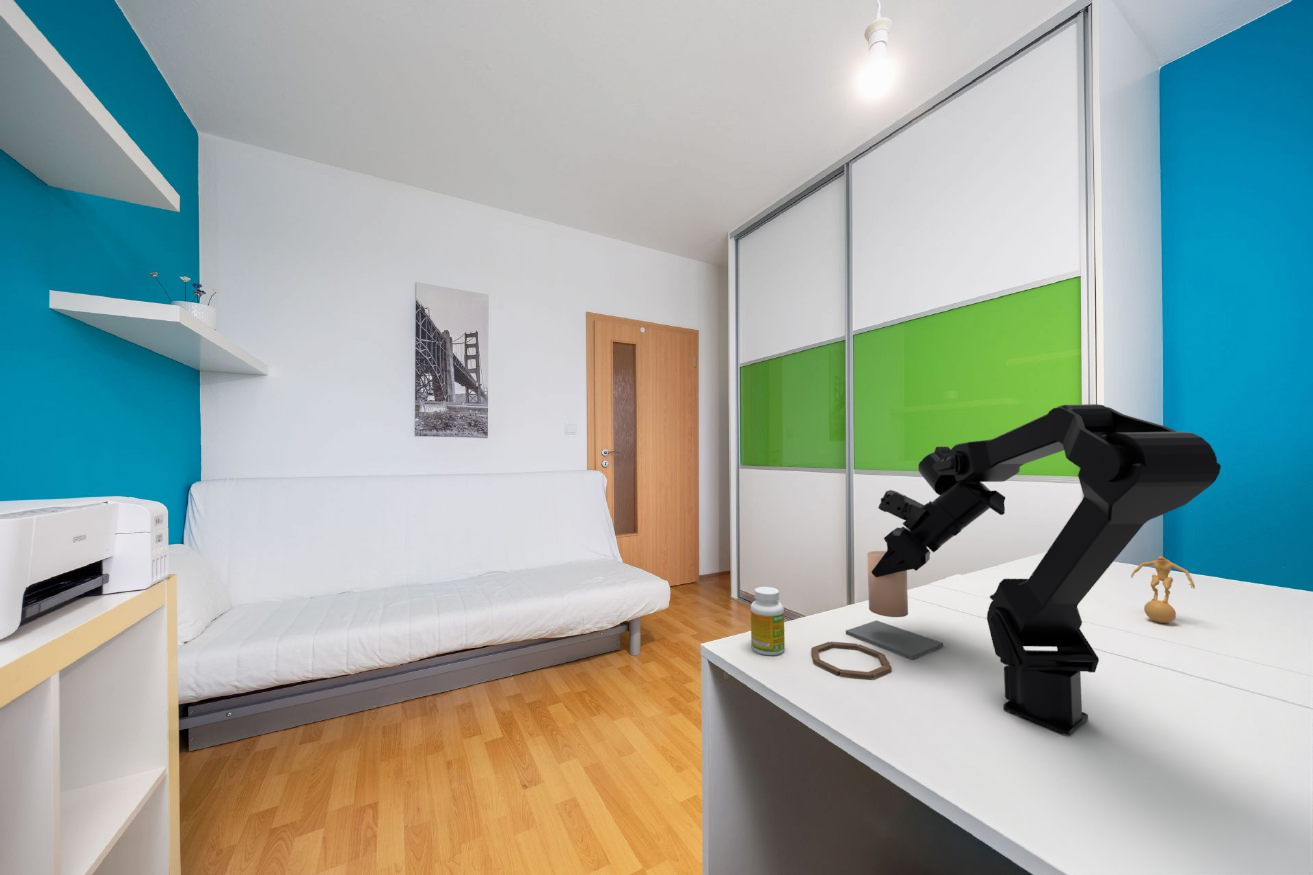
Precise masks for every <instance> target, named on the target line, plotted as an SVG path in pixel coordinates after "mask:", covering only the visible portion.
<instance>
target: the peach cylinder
mask: <svg viewBox="0 0 1313 875" xmlns="http://www.w3.org/2000/svg"><path fill="white" fill-rule="evenodd" d="M886 551H887V550H886ZM886 551H884V550H875V551H869V552H867V556H866V558H867V582H868V583H867V588H868V590H867V591H868V610H869V611H870V612H871V613H873V614H875V615H878V616H883V617H888V618H903V617H907V616H908V615H909V602H908V600H909V599H908V598H909V596H908V595H909V594H908V570H906V571H901V572H897V573H893V574H888V575H884V576H880V577H875V576H874V575H873V574H872V573H871V572H872V570H873V569H874V568H875V566H876V565H877V564H878V562H879V561H880V560H881V558H882V557H883V556H884V554H885V553H886Z"/></svg>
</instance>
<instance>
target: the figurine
mask: <svg viewBox="0 0 1313 875" xmlns="http://www.w3.org/2000/svg"><path fill="white" fill-rule="evenodd" d="M1146 566H1154V569H1155V571H1156V573H1157V575H1156V574H1155V573H1154V574H1152V575H1151V582H1150V587H1151V589H1152V591H1153V592H1154V595H1153V597H1152V598H1151V600H1149V601H1147V602H1146V603H1145V605H1144V607H1143V609H1144V613H1145V615H1146V616H1147V617H1148V618H1149V619H1151V620H1152V621H1154V622H1157V623H1160V624H1168V623H1171V622H1173V621H1174V620H1175V619H1176V616H1177V612H1176V610H1175V608H1174V607H1173V606H1172V605H1171V604H1170V603H1169V598H1170V594H1171V591H1170V589H1171V588H1172V583H1173V581H1174V578H1173V577H1172V576H1169V575H1170V573H1171V571H1172V569H1176V570H1178V571H1180V572H1182V573H1185V576H1186V577H1187V580H1188V581H1189V582H1190V583H1189V584H1188V585H1189V586H1190V585H1191V586H1190V588H1191V589H1195V588H1196V587H1195V586H1196V585H1195V583H1194V580H1193V578H1192V576H1191V573H1190V572H1189V571H1188V570H1187V569H1185V568H1183V567H1181V566H1179V565H1178V564H1176V563H1174V562H1171V561H1170V560H1169V559H1166V558H1165V557H1164V556H1162V555H1160V556H1158V557H1157V559H1155V560H1151V561H1145V562H1142V563H1140V564H1139V565H1138V566H1137V567H1136V568H1135V569H1134V570H1133V572H1132V573H1131V576H1130V578H1131V579H1132V578H1134V576H1135V574H1137V572H1139V571H1140V570H1141V569H1142V568H1143V567H1146ZM1160 582H1162V586H1164V593H1165V595H1164V598H1163V600H1159V599H1158V596H1159V590H1158V588H1157V587H1156V586H1158V585H1160Z"/></svg>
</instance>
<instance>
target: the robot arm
mask: <svg viewBox="0 0 1313 875" xmlns="http://www.w3.org/2000/svg"><path fill="white" fill-rule="evenodd" d="M1063 451H1064V455H1065V458H1066V459H1067V460H1068V461H1070V462H1071V463H1073V464H1074V465H1075V466H1077V467H1078V468H1079V472H1078V474H1077V476H1078V480H1079V484H1080V487H1081V492H1082V494H1083V498H1082V500H1081V501H1080V503H1079V504H1078V506H1077V507H1076V509H1075V510H1074V511H1073V513H1072V514H1071V516H1070V517H1069V518H1068V520H1067V522H1066V523H1065V525H1064V526H1063V527H1062V529H1061V530H1060V532H1059V533H1058V535H1057V536H1056V537H1055V539H1054V541H1053V542H1052V544H1051V545H1050V547H1049V548H1048V550H1047V551H1046V553H1044V556H1043V557H1042V558H1041V560H1040V562H1039V563H1038V564H1037V566H1036V567H1035V569H1034V570H1033V572H1032V574H1031V575H1030V576H1029V578H1003V579H1002V580H1001V581H999V583H998V585H997V587H996V588H997V589H996V591H995V592H994V593H993V594H991V595H989V599H991V600H992V601H991V602H990V604H989V606H988V610H987V613H986V621H987V625H988V628H989V633H990V637H991V641H992V646H993V649H994V653H995V655H996V656H997V657H998V658H999V660H1000V663H1001V664H1003V665H1006V666H1004V667H1003V679H1004V680H1003V681H1004V685H1003V686H1004V698H1005V699H1006V700H1007V702H1005V703H1003V705H1002V707H1003V709H1004V711H1006V712H1009V713H1012V714H1015V715H1017V716H1019V717H1022V718H1024V719H1027V720H1029V721H1032V722H1034V723H1036V724H1038V725H1041V726H1044V727H1046V728H1048V729H1050V730H1053V731H1056V732H1058V733H1060V734H1064V735H1067V736H1068V735H1071V734H1072V733H1073V732H1075V731H1076V730H1077V729H1078V728H1079V727H1081V726H1082V725H1083V724H1084V723H1085V722H1087V721H1088V720H1089V714H1087V713H1086V712H1083V706H1082V705H1083V704H1082V682H1081V680H1082V676H1081V672H1087V673H1096V671H1097V667H1098V664H1099V661H1100V660H1099V659H1100V658H1099V656H1098V655H1097V653H1096V652H1095V650H1094V649H1093V647H1092V645H1091V644H1090V643H1089V641H1088V639H1087V637H1085V634H1084V633H1083V631H1082V630H1081V627H1082V624H1083V621H1082V618H1081V615H1080V611H1079V608H1078V606H1079V604H1080V603H1081V602H1082V600H1083V599H1084V597H1086V595H1088V593H1089V592H1090V590H1091V589H1092V588H1093V587H1094V586H1095V584H1096V583H1097V582H1098V581H1099V580H1100V579H1101V578H1102V576H1103V575H1104V574H1105V573H1106V571H1107V570H1108V569H1109V567H1110V566H1111V565H1112V564H1113V563H1114V561H1115V560H1116V559H1117V558H1118V556H1119V555H1120V554H1121V553H1122V551H1123V550H1125V548H1126V547H1127V546H1128V545H1129V543H1130V542H1131V541H1132V540H1133V539H1134V537H1135V536H1136V535H1137V533H1139V531H1140V530H1141V529H1142V527H1143V526H1144V525H1145V524H1146V523H1147V522H1148V521H1151V520H1153V519H1156V518H1158V517H1160V516H1162V515H1165V514H1167V513H1169V512H1172V511H1174V510H1177V509H1179V508H1181V507H1183V506H1186V505H1188V504H1189V503H1190V502H1191V501H1192V500H1194V499H1195V498H1197V496H1199V495H1200V494H1202V493H1203V492H1204V491H1205V490H1207V489H1208V488H1209V487H1210V486H1212V485H1213V484H1214V483H1215V482H1216V480H1217V478H1218V477H1219V475H1220V473H1221V468H1222V465H1221V464H1220V463H1219V462H1218V457H1217V456H1216V452H1215V451H1214V449H1213V447H1212V445H1211V444H1210V443H1209V442H1208V441H1206V440H1205V438H1203V437H1201V436H1200V435H1198V434H1195V433H1193V432H1187V431H1177V430H1174V429H1172V428H1170V427H1168V426H1165V425H1161V424H1158V423H1155V422H1151V421H1148V420H1144V419H1141V418H1137V417H1135V416H1134V417H1133V416H1131V415H1128V414H1127V415H1126V414H1124V413H1121V412H1120V411H1117V410H1115V409H1113V408H1111V407H1110V406H1105V405H1103V404H1099V403H1097V404H1095V403H1093V404H1089V403H1088V404H1063V405H1059V406H1057V407H1053V408H1051V409H1050V410H1049V411H1048V412H1047V413H1046V414H1044V415H1042V416H1040V417H1038V418H1035V419H1033V420H1031V421H1029V422H1027V423H1025V424H1023V425H1020V426H1018V427H1016V428H1014V429H1011V430H1009V431H1007V432H1005V433H1002V434H1000V435H998V436H996V437H994V438H991V439H986V440H975V441H966V442H962V443H957V444H954V445H953V446H952V448H950V447H949V446H936V447H935V449H934V452H931V453H928V454H927V455H926V456H924V457H923V458H922V460H921V461H920V462H918V472H919V474H920V475H921V476H922V477H923V479H924V480H925V481H926V484H928V485H929V486H930V487H931V489H932V490H933V491H934V492H935V494H936V495H938V496H937V497H936V498H935V499H933V501H931V500H930V501H929V502H927V503H925V504H923V503H920V502H919V501H917V500H916V499H913V498H911V497H909V496H907V495H904V494H902V493H899V492H898V491H895V490H892V489H889V490H886V491H885V493H884V494H883V496H882V498H880V503H879V505H878V507H877V508H878V509H879V510H880V511H882V512H884V513H889V514H890V515H892V516H894V517H896V518H898V519H901V520H903V522H902V524H901V525H903V526H901V527H896V528H894V529H893V530H891V531H890V532H889V533H888V534H887V535H885V536H884V537H883V540H884V542H885V543H886V547H887V548H886V553H885V554H884V556H883V557H882V558H881V560H880V561H879V562H878V564H877V565H876V566H875V568H874V569H873V570H872V572H871V573H872V574H873V575H874V576H875V577H880V576H884V575H888V574H893V573H897V572H901V571H906V570H907V571H909V570H914V571H918V570H919V569H920V568H922V567H923V566H924V565H926V564H928V562H929V561H930V559H931V557H930V555H931V552H932V553H935V552H936V551H938V550H940V548H941V547H942V546H943V545H944V544H945V543H947V542H948V541H950V540H951V539H952V538H953V537H956V536H957V535H958V534H960V533H961V532H962V530H964V529H965V528H966V527H968V526H969V525H970V524H972V522H974V521H975V520H976V519H977V518H979V517H980V516H982V515H983V514H984V513H986V512H987V511H988V510H990V509H991V510H992V511H994V512H996V513H997V514H999V515H1000V516H1003V515H1005V513H1006V511H1005V510H1006V509H1005V508H1006V507H1005V506H1006V505H1005V501H1006V496H1005V495H1003V494H1002V493H1001V492H1000V491H998V490H990V489H989V487H987V486H986V485H985V484H984V483H985V482H986V483H989V482H991V483H992V482H993V483H994V482H995V483H996V482H997V483H999V482H1000V483H1002V482H1003V483H1004V482H1006V481H1008V480H1009V479H1010V478H1013V477H1014V476H1016V475H1018V474H1019V472H1020V471H1021V466H1023V465H1026V464H1028V463H1031V462H1035V461H1036V460H1040V459H1042V458H1046V457H1048V456H1051V455H1054V454H1056V453H1060V452H1063ZM1025 647H1035V648H1036V647H1039V648H1040V647H1042V648H1043V647H1044V648H1046V647H1047V648H1049V647H1050V648H1051V647H1052V648H1056V650H1040V649H1039V650H1038V649H1037V650H1033V649H1032V650H1031V649H1030V650H1029V649H1025Z"/></svg>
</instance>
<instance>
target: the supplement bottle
mask: <svg viewBox="0 0 1313 875" xmlns="http://www.w3.org/2000/svg"><path fill="white" fill-rule="evenodd" d="M779 601H780V591H779V590H778V589H777V588H775V587H771V586H760V587H758V586H757V587H755V588H754V601H752V603H751V604H750V636H751V637H750V639H751V640H750V641H751V644H750V645H751V649H752V650H753V651H754V652H755V653H757V654H760V655H762V656H763V655H764V656H778V655H781V654H783V653H784V652H785V646H786V645H785V644H786V643H785V638H786V637H785V609H784V605H783V604H782V603H781V602H779Z"/></svg>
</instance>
